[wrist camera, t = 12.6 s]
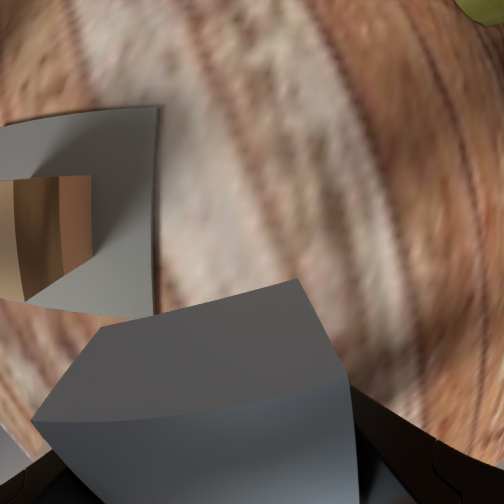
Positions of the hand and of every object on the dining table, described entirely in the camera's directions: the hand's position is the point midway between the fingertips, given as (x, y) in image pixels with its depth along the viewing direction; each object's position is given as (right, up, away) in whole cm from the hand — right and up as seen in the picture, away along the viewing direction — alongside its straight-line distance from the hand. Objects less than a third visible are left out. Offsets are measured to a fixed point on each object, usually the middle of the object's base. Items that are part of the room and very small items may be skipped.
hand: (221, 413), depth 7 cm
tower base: (-12, +7, +11) cm, 18 cm away
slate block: (0, 0, +1) cm, 1 cm away
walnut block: (-12, +6, +7) cm, 15 cm away
